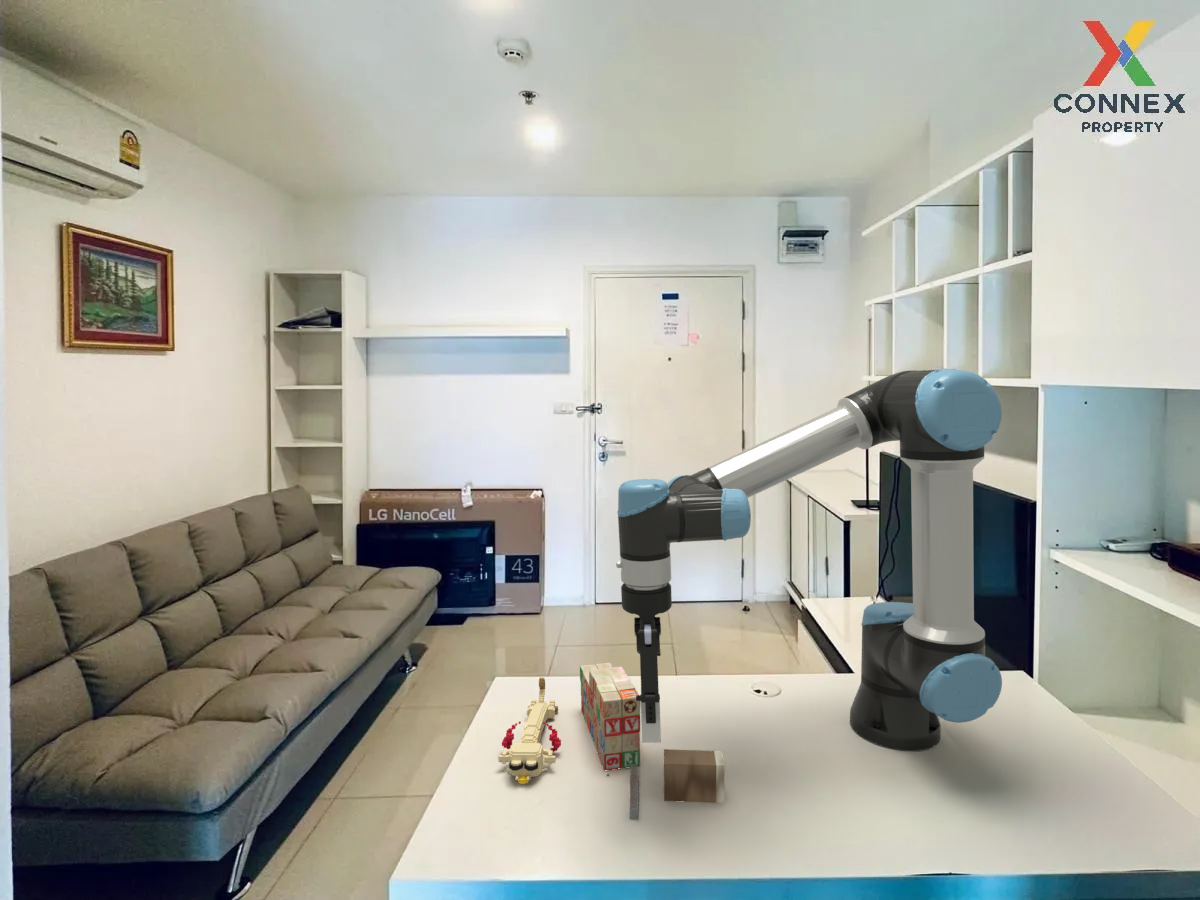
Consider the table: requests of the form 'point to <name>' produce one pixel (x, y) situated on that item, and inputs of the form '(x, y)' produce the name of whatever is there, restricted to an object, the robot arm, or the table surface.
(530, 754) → the cream long toy figure
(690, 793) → the walnut block
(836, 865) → the table surface
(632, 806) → the grey bar
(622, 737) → the stack of blocks
